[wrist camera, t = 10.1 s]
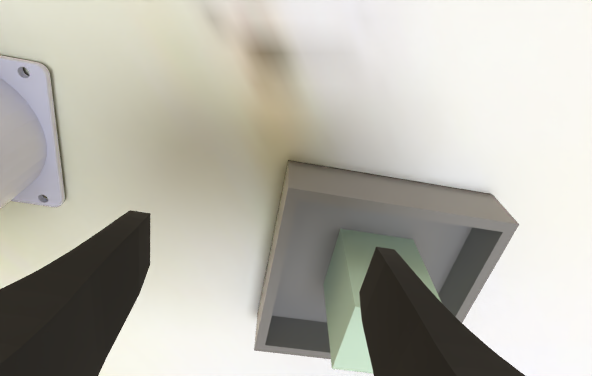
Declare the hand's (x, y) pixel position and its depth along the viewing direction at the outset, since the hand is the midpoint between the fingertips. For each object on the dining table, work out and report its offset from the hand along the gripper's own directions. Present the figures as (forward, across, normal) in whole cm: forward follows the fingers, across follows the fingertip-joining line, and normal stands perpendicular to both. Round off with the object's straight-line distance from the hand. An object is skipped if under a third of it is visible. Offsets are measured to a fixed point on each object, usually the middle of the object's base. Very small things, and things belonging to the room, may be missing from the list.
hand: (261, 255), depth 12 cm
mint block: (+9, -7, +7) cm, 13 cm away
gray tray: (+9, -7, +7) cm, 14 cm away
